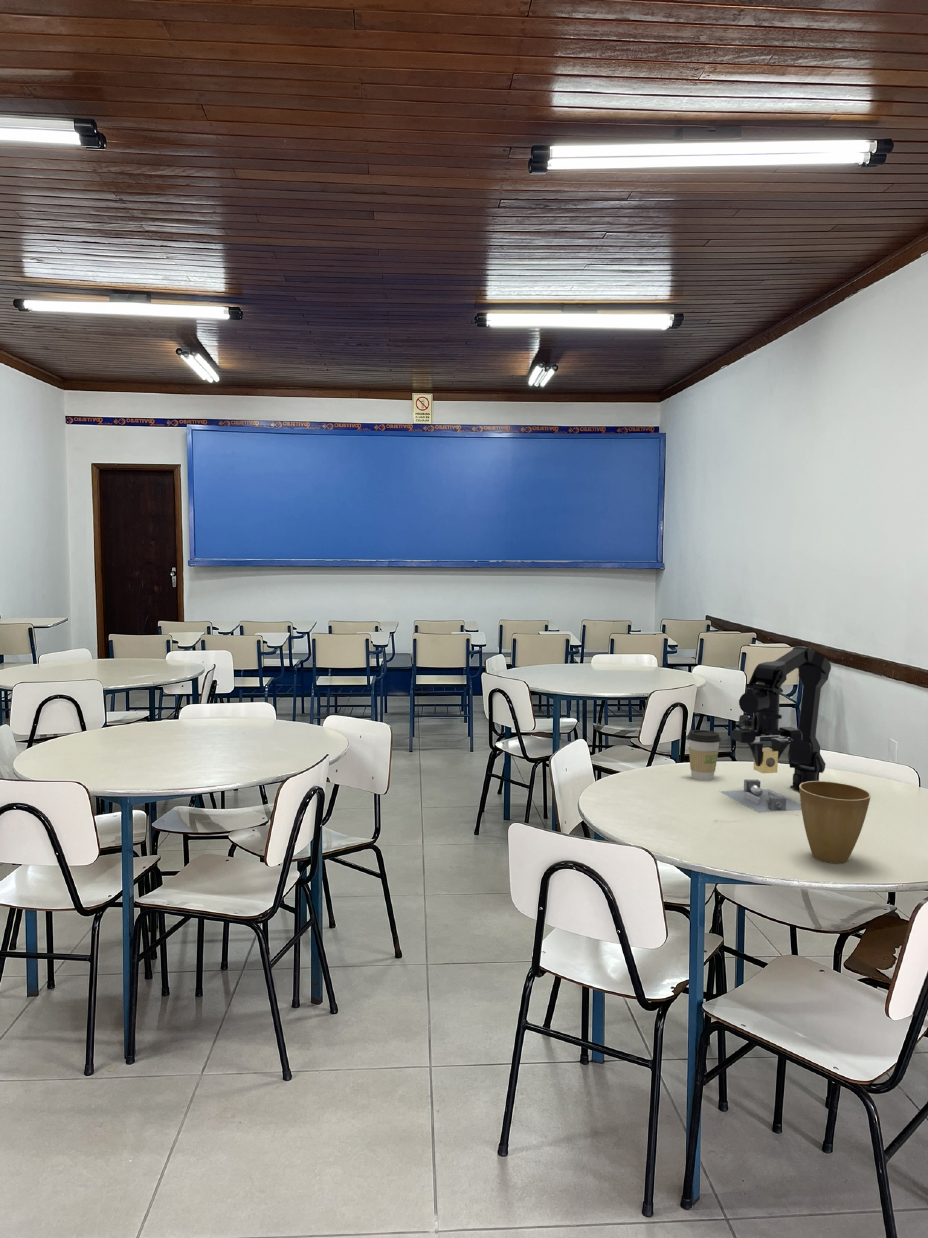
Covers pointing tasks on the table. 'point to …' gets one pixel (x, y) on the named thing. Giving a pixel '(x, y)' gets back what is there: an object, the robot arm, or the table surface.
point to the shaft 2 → (776, 803)
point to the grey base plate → (760, 800)
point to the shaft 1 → (753, 787)
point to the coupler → (768, 761)
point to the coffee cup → (703, 753)
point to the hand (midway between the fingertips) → (765, 765)
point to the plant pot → (833, 818)
